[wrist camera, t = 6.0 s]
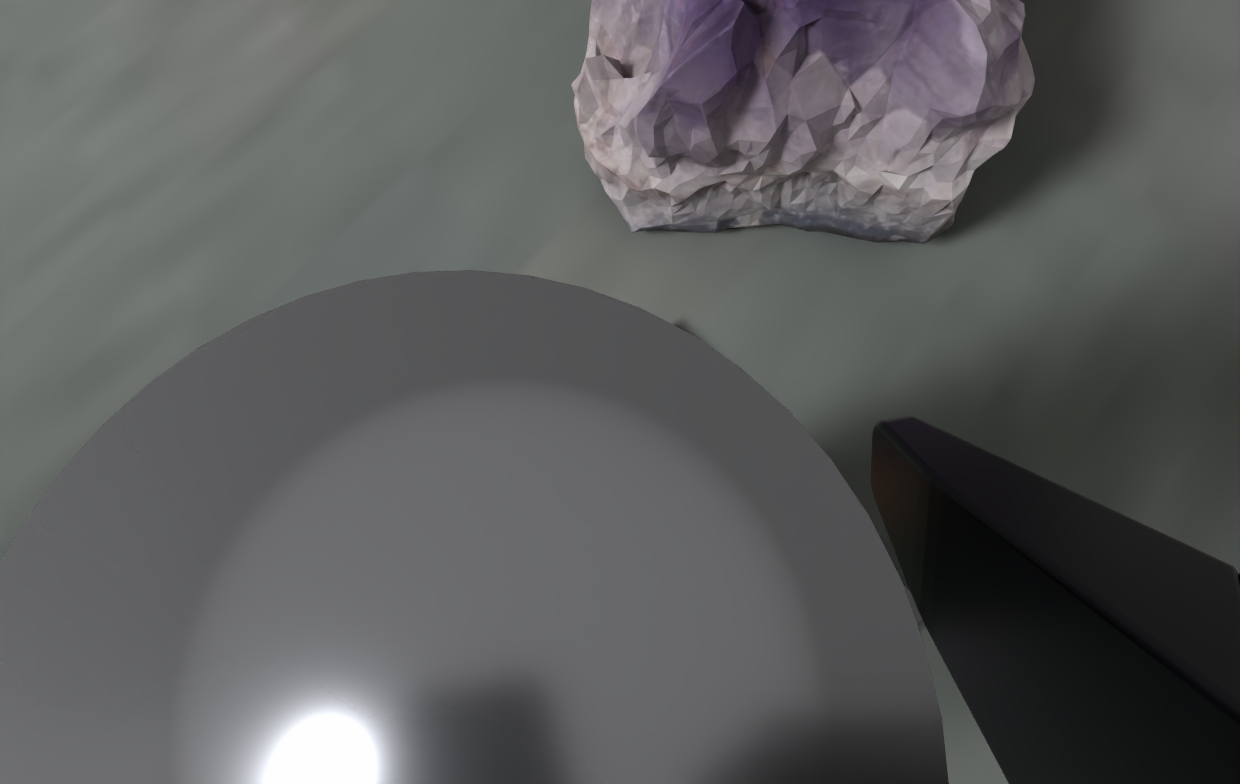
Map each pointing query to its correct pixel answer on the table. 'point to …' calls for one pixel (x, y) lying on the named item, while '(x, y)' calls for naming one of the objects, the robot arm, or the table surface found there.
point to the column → (458, 564)
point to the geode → (799, 110)
